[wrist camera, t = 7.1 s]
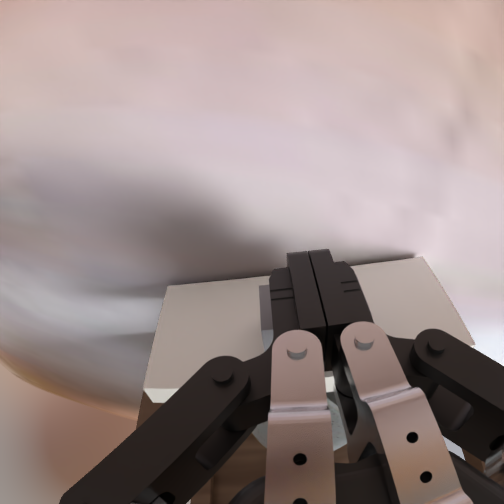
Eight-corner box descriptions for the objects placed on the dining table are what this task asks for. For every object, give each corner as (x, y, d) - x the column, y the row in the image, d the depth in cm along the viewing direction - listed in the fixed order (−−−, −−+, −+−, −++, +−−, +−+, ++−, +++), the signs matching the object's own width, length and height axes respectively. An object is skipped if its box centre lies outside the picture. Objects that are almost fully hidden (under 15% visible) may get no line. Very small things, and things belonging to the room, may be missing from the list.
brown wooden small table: (156, 331, 20) (115, 620, 5) (434, 299, 19) (530, 558, 4) (201, 416, 26) (193, 601, 12) (398, 392, 25) (439, 569, 11)
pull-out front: (156, 255, 16) (123, 359, 11) (428, 225, 15) (491, 311, 10) (173, 301, 18) (153, 402, 12) (418, 273, 17) (466, 360, 12)
